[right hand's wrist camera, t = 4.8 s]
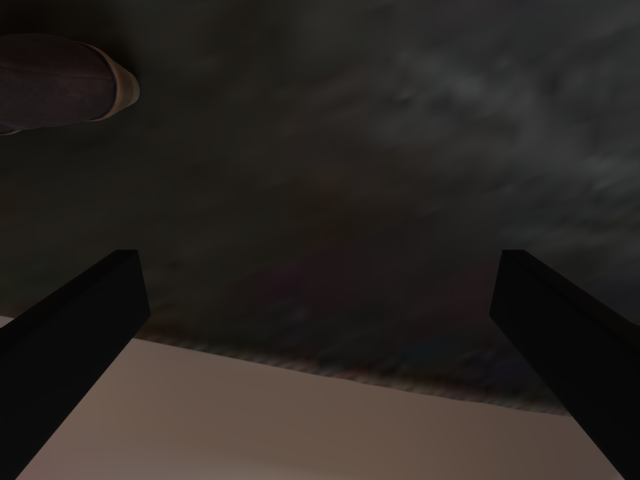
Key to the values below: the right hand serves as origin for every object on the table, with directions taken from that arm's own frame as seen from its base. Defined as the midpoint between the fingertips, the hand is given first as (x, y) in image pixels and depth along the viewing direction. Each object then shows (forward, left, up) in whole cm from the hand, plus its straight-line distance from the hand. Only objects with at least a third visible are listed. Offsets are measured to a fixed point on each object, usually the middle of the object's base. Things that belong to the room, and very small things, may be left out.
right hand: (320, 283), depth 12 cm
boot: (-8, -29, -28) cm, 41 cm away
